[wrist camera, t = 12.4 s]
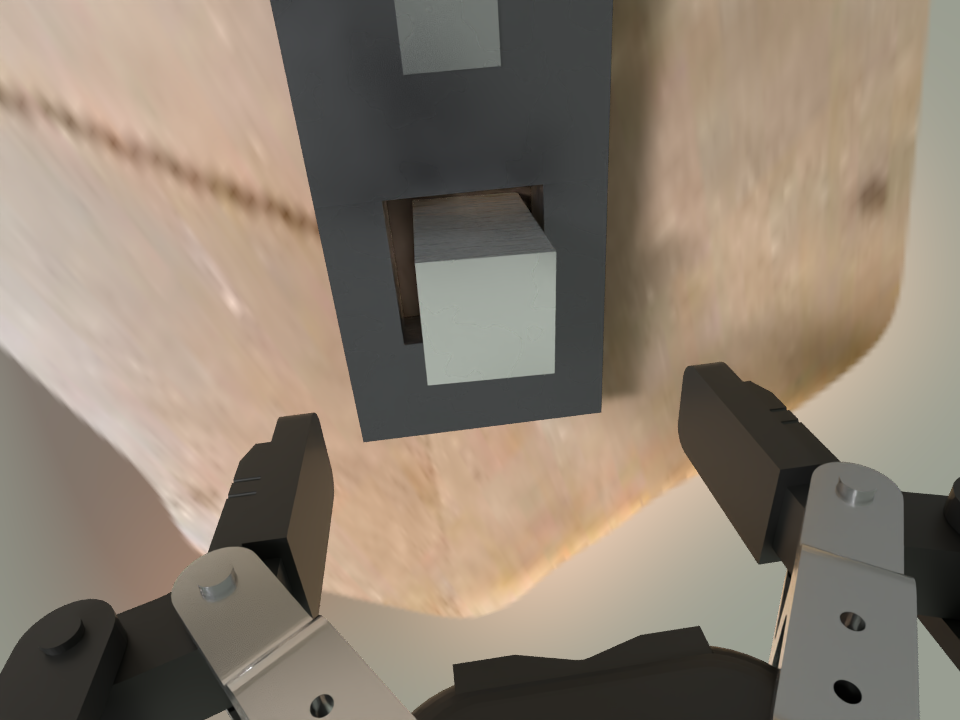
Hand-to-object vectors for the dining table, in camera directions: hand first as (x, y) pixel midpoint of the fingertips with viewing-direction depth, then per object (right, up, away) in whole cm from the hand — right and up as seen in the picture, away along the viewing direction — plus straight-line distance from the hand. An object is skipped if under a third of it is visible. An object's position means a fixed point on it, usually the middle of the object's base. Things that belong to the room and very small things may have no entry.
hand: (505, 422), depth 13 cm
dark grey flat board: (-1, +8, +9) cm, 13 cm away
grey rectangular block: (-1, +6, +11) cm, 12 cm away
